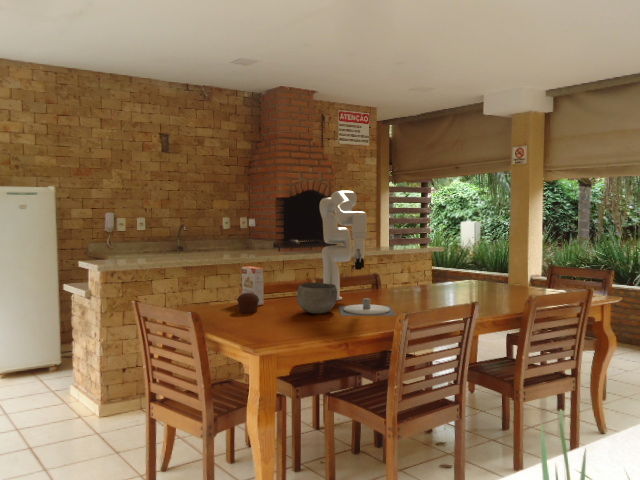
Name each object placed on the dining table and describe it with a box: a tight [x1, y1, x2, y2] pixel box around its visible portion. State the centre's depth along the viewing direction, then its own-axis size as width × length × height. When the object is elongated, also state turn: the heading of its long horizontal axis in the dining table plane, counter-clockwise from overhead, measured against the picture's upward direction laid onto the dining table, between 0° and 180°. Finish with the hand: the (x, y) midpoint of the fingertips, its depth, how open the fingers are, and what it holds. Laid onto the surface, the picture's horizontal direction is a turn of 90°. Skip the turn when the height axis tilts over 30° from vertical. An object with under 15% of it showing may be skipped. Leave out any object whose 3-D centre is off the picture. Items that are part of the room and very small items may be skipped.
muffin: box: [236, 293, 259, 315], centre depth 310 cm, size 12×11×10 cm
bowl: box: [296, 282, 337, 315], centre depth 306 cm, size 20×20×15 cm
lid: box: [344, 297, 390, 315], centre depth 311 cm, size 24×24×6 cm
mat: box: [338, 305, 398, 317], centre depth 311 cm, size 28×28×1 cm
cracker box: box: [241, 265, 265, 307], centre depth 334 cm, size 14×6×21 cm, turn 40°
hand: (359, 268), depth 308 cm, fingers open, 9 cm apart
